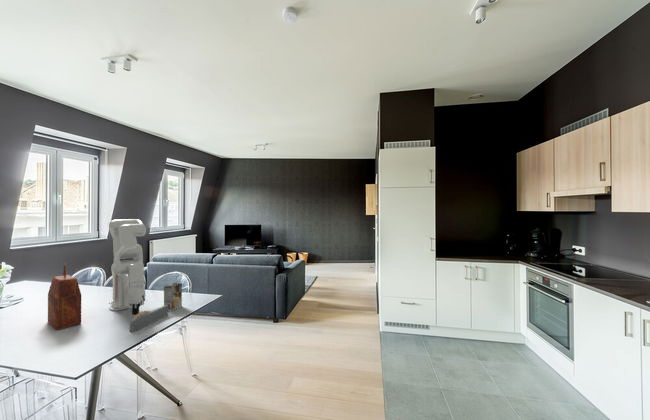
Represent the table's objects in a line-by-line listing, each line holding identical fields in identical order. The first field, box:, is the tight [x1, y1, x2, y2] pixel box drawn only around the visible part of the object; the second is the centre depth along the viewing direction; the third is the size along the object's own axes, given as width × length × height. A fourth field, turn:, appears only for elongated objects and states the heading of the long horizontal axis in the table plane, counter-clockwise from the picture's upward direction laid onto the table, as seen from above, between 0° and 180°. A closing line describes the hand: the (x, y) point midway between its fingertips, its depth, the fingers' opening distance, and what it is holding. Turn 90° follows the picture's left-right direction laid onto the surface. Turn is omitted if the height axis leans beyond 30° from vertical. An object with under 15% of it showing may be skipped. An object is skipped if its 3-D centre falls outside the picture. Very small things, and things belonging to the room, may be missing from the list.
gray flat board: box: [129, 304, 169, 333], centre depth 153 cm, size 2×24×6 cm, turn 169°
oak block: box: [133, 310, 152, 319], centre depth 154 cm, size 7×7×5 cm
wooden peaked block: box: [47, 263, 82, 331], centre depth 151 cm, size 10×19×35 cm, turn 56°
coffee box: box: [163, 282, 183, 312], centre depth 175 cm, size 9×6×16 cm
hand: (135, 314), depth 155 cm, fingers closed
